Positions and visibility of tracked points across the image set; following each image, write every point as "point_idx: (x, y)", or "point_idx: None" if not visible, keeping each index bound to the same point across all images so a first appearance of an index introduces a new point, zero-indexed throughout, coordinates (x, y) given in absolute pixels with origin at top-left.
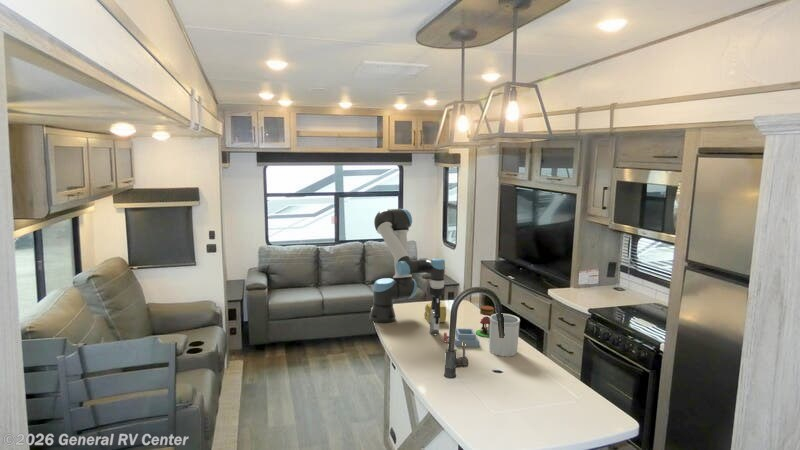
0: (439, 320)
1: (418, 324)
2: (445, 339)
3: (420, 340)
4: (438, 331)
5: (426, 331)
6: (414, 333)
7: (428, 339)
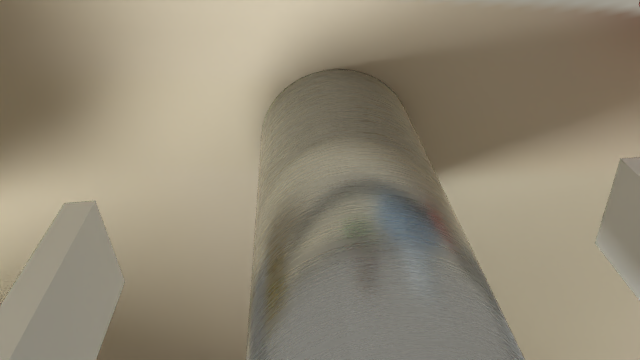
0: (390, 213)
1: None
2: None
3: (596, 291)
4: (384, 98)
5: None
6: None
7: (578, 212)
